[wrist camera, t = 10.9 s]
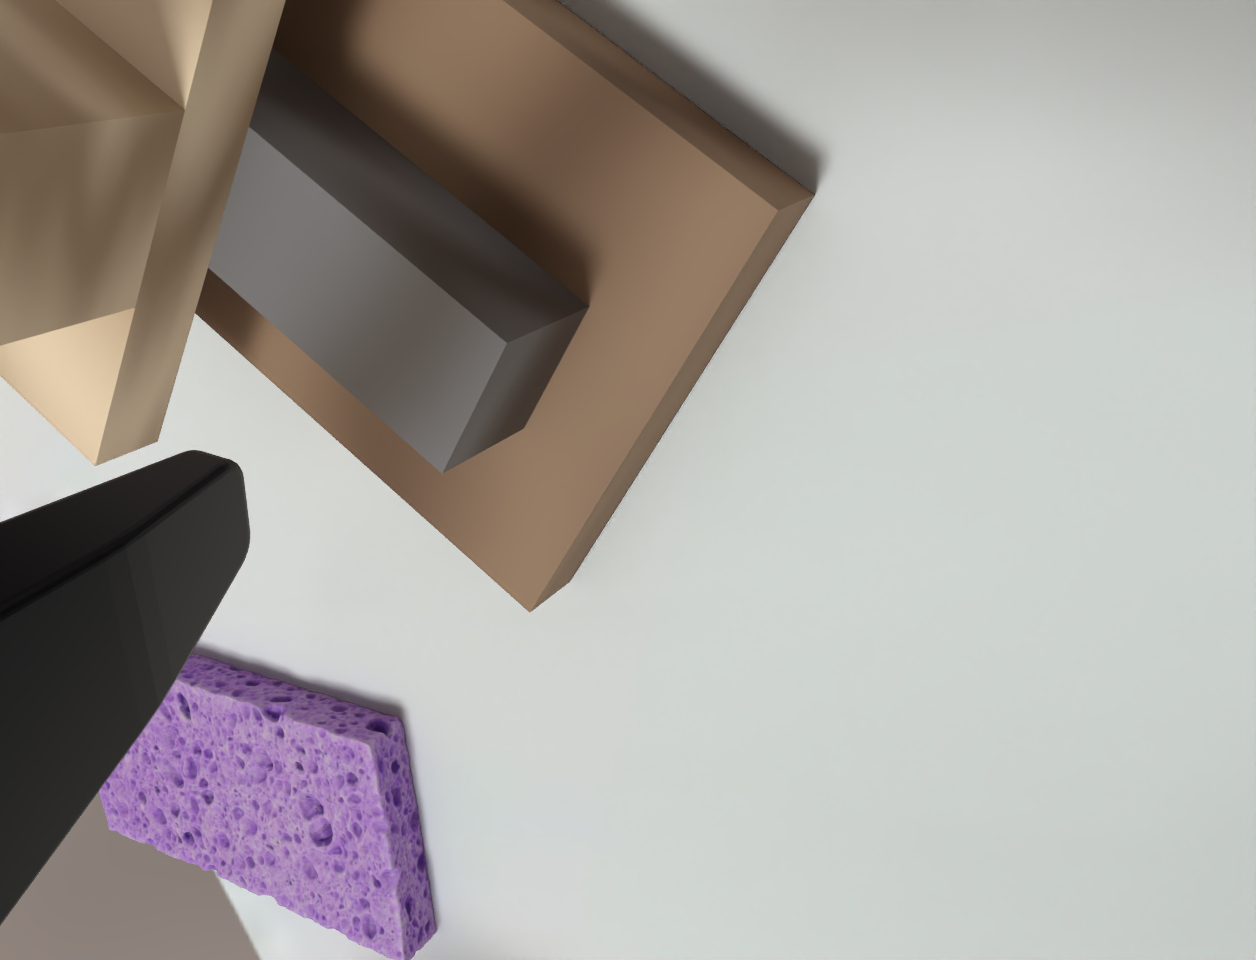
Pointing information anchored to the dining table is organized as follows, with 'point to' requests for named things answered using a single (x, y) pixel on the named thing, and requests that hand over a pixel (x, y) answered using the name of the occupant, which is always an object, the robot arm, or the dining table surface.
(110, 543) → the robot arm
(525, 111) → the stand
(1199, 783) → the dining table surface
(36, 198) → the oak T piece
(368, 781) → the sponges
